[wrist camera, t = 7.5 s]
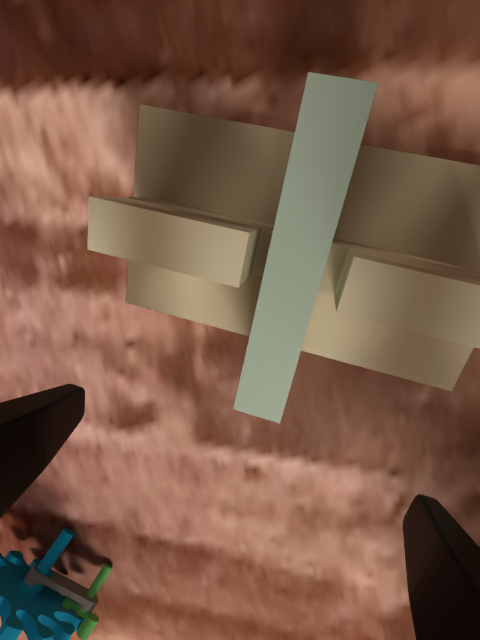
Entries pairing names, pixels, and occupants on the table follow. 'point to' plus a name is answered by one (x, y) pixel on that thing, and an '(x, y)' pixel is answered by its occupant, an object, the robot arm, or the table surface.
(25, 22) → the table surface
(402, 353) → the maple jig
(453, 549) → the robot arm
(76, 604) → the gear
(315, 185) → the sage board
